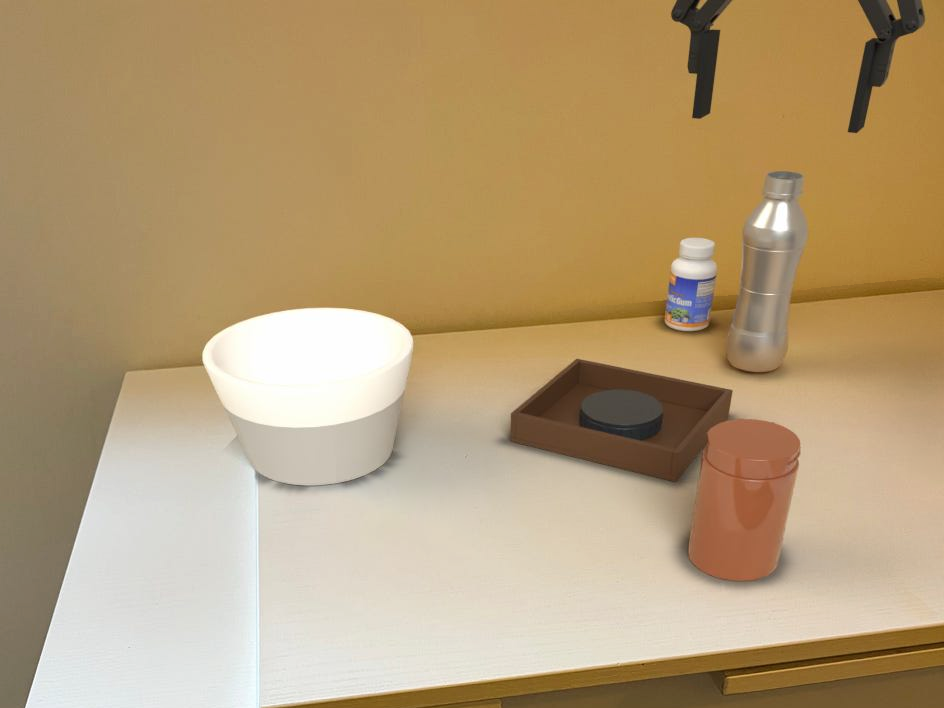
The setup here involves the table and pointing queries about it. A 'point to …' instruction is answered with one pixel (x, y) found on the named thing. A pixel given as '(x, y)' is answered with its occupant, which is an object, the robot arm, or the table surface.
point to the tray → (664, 455)
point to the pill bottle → (691, 286)
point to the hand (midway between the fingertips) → (775, 123)
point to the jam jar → (743, 498)
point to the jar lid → (622, 413)
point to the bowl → (312, 390)
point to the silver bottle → (768, 275)
